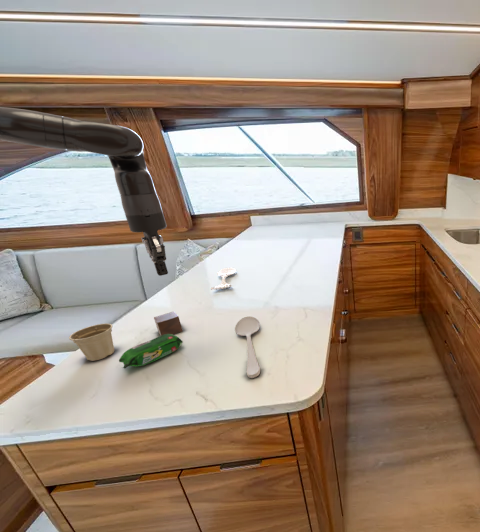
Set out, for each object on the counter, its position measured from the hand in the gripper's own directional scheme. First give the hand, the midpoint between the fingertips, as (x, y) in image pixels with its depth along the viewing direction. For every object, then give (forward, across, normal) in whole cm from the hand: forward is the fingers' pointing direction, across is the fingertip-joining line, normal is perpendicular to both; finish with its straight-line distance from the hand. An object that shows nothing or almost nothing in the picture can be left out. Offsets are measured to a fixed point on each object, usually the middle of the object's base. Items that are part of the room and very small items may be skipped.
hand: (163, 274), depth 82 cm
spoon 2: (+27, -60, +31) cm, 73 cm away
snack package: (+27, -7, -7) cm, 29 cm away
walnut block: (+27, -22, 0) cm, 35 cm away
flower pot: (+27, -22, -18) cm, 39 cm away
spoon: (+27, +10, +15) cm, 33 cm away
